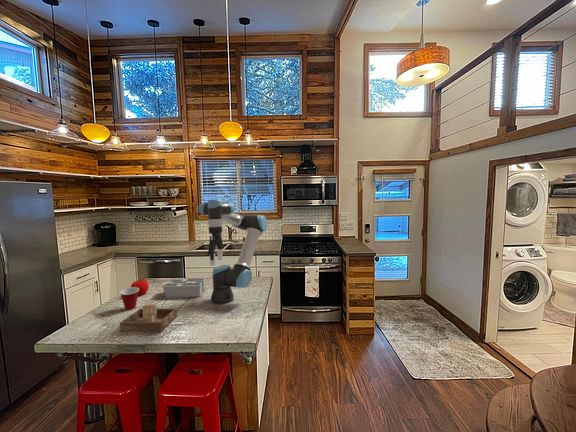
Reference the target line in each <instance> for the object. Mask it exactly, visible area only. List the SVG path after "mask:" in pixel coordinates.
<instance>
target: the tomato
mask: <svg viewBox="0 0 576 432" xmlns="http://www.w3.org/2000/svg"><path fill="white" fill-rule="evenodd" d="M131 287H136V288H139V291H138V295H137V296H142V295H145V294H147V293H148V290H149V289H150V287H149V282H148V281H147V280H145V279H138V280H135V281H133V282H132V283H131V285H130V288H131Z"/></svg>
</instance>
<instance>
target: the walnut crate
mask: <svg viewBox="0 0 576 432" xmlns="http://www.w3.org/2000/svg"><path fill="white" fill-rule="evenodd" d="M156 309H157V321H156V322H143V310H142V308H139V309H138V310H136V311H134V312H133V313H131V314H130V315H129V316H126V318H124V319H123V320H122V321H120V322H119V332H120V333H162V332H163V331H164V330H165V329H166V328H168V327H169V325H171V324H172V323H173V322H174V321H175V320H176V319H177V318H178V310H177V309H178V308H156Z"/></svg>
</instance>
